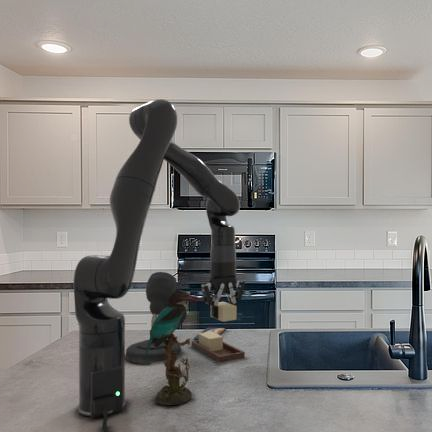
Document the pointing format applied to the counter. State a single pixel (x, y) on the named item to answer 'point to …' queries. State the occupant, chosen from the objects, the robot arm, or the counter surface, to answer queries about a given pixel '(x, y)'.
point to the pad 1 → (211, 341)
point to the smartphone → (215, 330)
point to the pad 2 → (226, 312)
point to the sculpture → (160, 333)
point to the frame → (220, 352)
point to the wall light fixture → (158, 297)
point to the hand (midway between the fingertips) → (223, 316)
